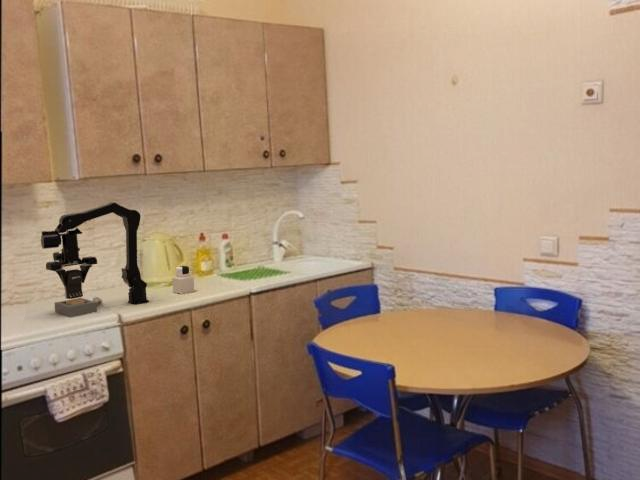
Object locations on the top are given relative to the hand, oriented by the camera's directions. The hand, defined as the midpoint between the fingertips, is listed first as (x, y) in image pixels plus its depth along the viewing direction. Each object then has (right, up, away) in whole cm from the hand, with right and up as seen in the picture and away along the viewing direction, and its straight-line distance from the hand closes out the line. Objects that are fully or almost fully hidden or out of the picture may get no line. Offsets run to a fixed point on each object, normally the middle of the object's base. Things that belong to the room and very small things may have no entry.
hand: (74, 284), depth 245 cm
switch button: (0, -9, +1) cm, 9 cm away
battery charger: (0, -6, +1) cm, 6 cm away
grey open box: (0, -11, +1) cm, 11 cm away
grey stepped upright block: (+37, -6, +34) cm, 50 cm away
